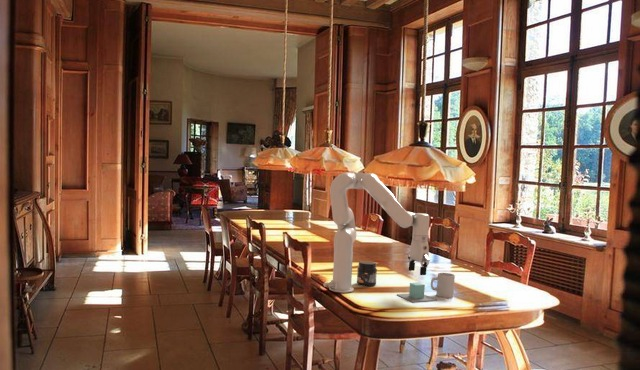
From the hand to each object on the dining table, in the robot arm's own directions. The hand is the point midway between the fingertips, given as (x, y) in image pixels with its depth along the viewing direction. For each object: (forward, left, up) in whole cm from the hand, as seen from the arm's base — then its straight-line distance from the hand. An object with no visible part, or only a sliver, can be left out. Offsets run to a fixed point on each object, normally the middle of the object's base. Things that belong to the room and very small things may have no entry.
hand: (417, 272), depth 264 cm
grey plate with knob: (0, 0, -13) cm, 13 cm away
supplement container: (-11, +31, -13) cm, 35 cm away
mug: (+16, +1, -13) cm, 21 cm away
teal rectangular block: (0, 0, -12) cm, 12 cm away
